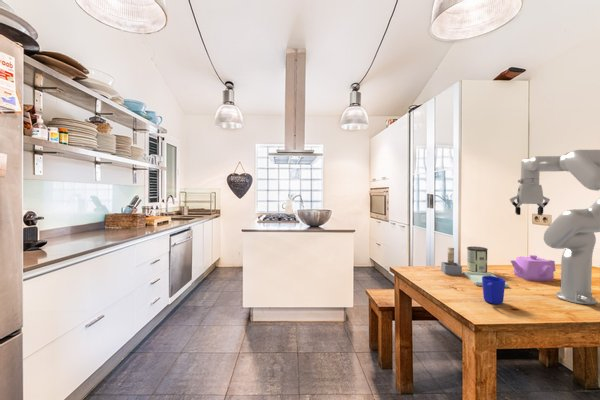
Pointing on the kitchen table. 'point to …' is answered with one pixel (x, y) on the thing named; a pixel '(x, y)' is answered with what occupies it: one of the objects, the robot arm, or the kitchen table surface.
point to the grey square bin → (451, 268)
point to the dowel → (451, 256)
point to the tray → (479, 277)
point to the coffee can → (477, 259)
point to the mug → (493, 289)
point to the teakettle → (534, 268)
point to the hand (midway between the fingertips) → (529, 214)
